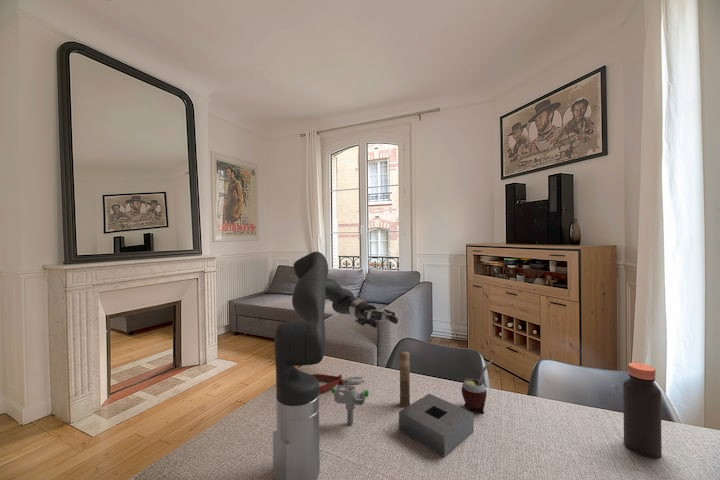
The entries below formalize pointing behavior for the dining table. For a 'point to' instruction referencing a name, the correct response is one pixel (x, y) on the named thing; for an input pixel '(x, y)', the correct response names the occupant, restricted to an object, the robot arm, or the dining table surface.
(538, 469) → the dining table surface
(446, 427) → the grey square hole block
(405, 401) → the pin
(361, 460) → the dining table surface
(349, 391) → the mechanical component
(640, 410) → the bottle
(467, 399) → the mate gourd
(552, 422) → the dining table surface
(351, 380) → the pliers
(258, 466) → the dining table surface
